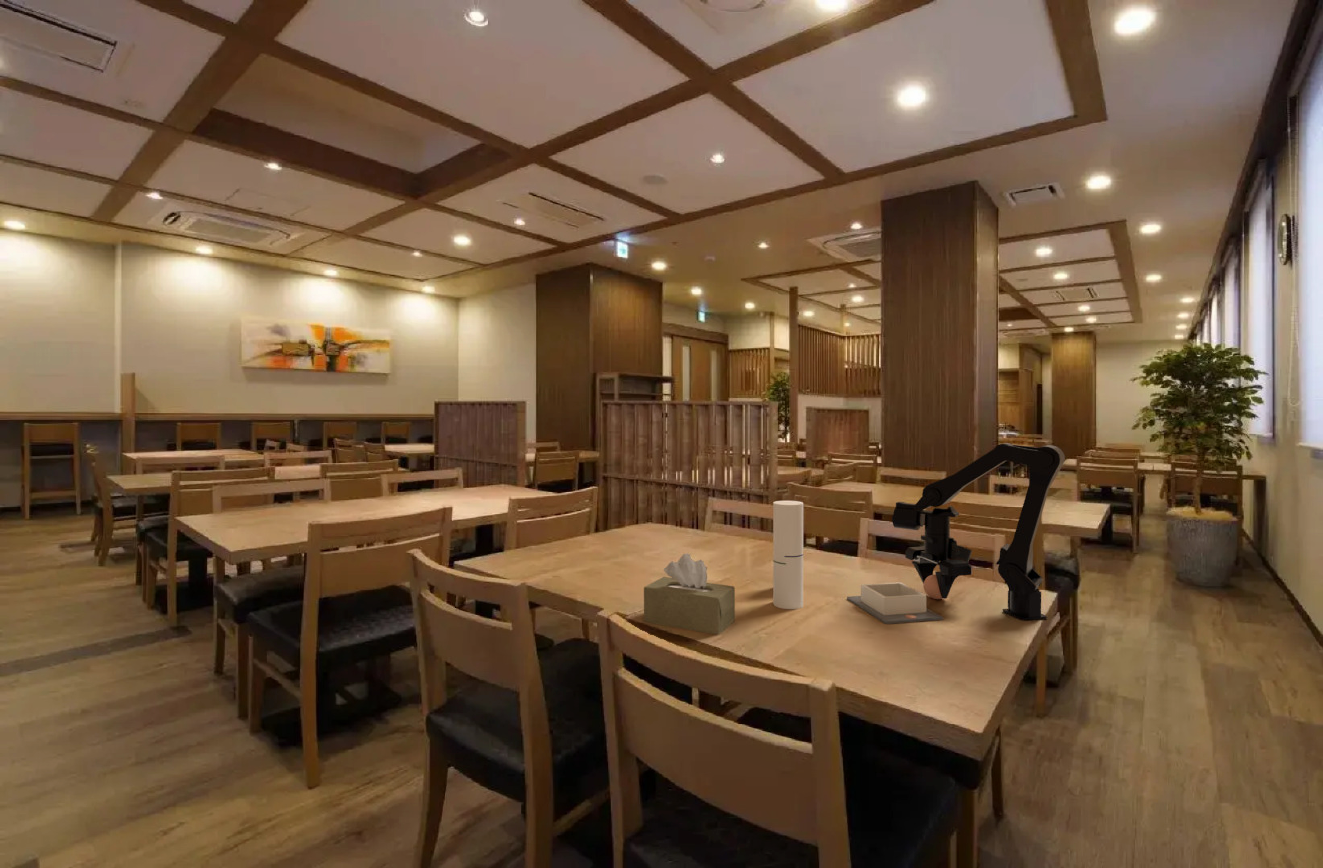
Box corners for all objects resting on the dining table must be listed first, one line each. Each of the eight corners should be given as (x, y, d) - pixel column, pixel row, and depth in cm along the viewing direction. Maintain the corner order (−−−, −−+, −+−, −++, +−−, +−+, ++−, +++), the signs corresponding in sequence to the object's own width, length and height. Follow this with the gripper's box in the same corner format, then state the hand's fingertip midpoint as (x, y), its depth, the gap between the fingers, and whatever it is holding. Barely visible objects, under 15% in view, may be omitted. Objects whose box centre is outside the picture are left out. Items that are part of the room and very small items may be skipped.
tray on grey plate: (943, 619, 136) (943, 599, 136) (885, 623, 134) (886, 603, 134) (898, 595, 154) (898, 577, 154) (847, 599, 152) (847, 580, 151)
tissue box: (642, 622, 137) (641, 552, 136) (662, 609, 145) (662, 544, 145) (719, 636, 128) (719, 562, 127) (736, 621, 137) (736, 552, 136)
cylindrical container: (803, 610, 144) (803, 505, 143) (773, 608, 145) (773, 504, 144) (802, 600, 150) (802, 500, 150) (773, 599, 152) (773, 500, 151)
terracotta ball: (954, 601, 149) (955, 577, 149) (932, 603, 148) (933, 578, 148) (939, 594, 155) (939, 571, 155) (918, 595, 154) (918, 572, 154)
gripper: (992, 539, 143) (991, 604, 144) (942, 524, 161) (941, 582, 162) (950, 541, 141) (949, 607, 142) (904, 526, 159) (903, 584, 160)
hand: (936, 594), depth 151 cm, fingers closed on terracotta ball, 6 cm apart
